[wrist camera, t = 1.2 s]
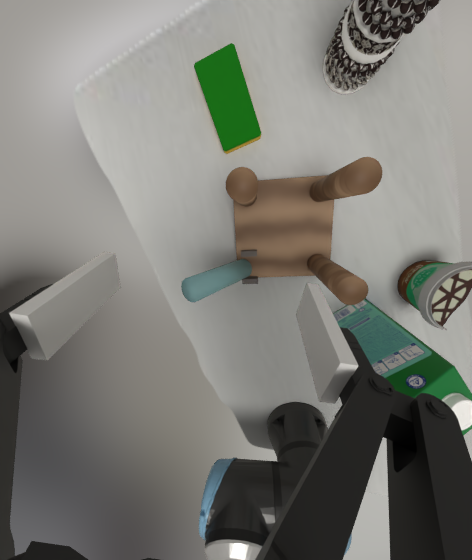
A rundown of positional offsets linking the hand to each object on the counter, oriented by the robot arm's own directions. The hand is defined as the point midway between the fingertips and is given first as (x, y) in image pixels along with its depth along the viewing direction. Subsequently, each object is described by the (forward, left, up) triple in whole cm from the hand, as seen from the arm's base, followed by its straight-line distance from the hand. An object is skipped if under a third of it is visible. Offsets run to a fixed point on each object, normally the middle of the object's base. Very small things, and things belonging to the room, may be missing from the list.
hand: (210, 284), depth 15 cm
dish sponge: (+23, +1, -32) cm, 40 cm away
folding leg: (-5, -1, -26) cm, 27 cm away
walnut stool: (+1, -8, -32) cm, 33 cm away
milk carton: (-20, -24, -32) cm, 45 cm away
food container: (-10, -34, -32) cm, 48 cm away
